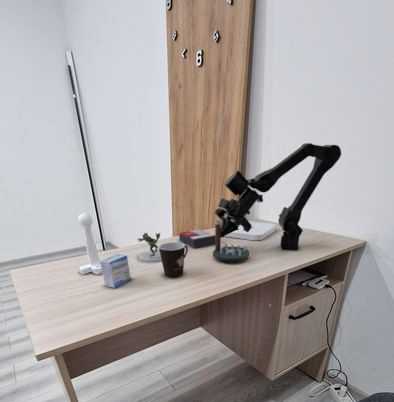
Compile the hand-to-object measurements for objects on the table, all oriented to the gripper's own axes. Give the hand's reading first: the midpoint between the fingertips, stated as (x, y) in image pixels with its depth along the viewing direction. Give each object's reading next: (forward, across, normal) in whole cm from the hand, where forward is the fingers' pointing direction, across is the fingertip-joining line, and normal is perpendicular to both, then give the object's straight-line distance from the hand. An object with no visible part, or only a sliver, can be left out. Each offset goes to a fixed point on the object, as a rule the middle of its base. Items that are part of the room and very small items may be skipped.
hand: (218, 237), depth 115 cm
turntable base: (+3, +6, +7) cm, 9 cm away
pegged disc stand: (+2, +5, +6) cm, 8 cm away
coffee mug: (+20, +9, -10) cm, 24 cm away
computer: (-15, -21, +26) cm, 36 cm away
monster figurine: (+22, -12, -11) cm, 27 cm away
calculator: (+5, -21, +6) cm, 22 cm away
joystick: (+38, -8, -27) cm, 47 cm away
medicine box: (+35, +6, -24) cm, 43 cm away
